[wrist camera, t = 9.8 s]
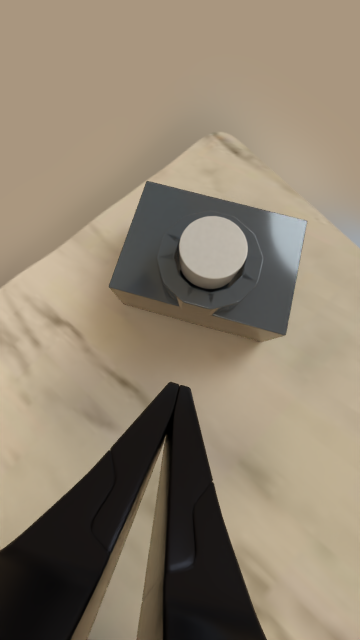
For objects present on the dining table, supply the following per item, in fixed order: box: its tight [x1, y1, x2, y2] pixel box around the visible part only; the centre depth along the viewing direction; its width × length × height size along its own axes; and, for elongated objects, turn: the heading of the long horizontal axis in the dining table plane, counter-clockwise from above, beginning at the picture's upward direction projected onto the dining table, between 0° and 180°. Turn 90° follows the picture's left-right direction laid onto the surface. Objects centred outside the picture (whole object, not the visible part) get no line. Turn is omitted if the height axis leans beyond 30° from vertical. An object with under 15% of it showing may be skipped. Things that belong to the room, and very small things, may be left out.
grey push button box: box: [109, 181, 307, 342], centre depth 20 cm, size 10×14×7 cm
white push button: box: [179, 216, 248, 289], centre depth 16 cm, size 4×4×2 cm
